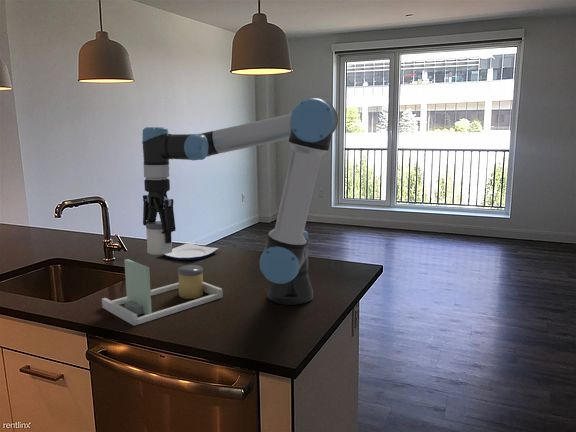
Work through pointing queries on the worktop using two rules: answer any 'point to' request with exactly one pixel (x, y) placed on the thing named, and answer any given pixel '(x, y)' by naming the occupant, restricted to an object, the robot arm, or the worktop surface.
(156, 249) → the cream jar
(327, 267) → the worktop surface
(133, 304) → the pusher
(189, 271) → the amber jar
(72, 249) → the worktop surface
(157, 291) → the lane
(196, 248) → the plate
